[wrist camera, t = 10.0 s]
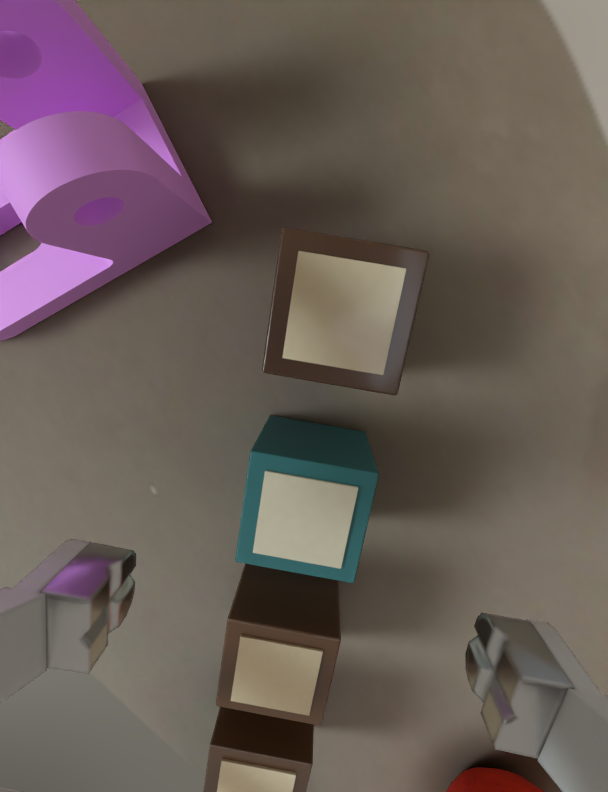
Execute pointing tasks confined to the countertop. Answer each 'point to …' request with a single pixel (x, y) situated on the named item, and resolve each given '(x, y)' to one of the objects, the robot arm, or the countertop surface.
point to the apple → (491, 781)
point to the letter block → (307, 499)
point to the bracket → (79, 163)
